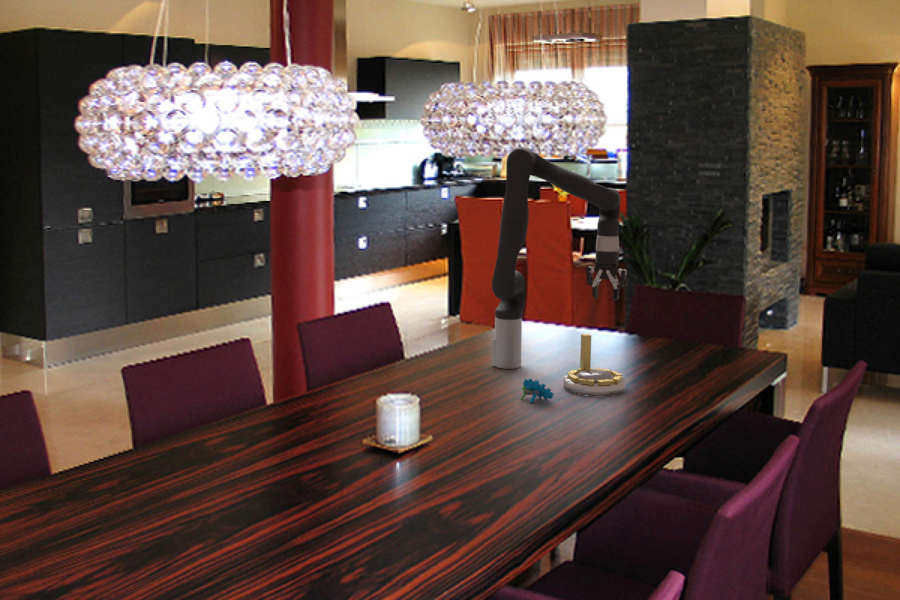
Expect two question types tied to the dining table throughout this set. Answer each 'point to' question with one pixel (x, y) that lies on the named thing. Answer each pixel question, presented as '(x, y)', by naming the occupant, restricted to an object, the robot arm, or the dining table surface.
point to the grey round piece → (594, 389)
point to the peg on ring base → (585, 365)
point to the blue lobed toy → (535, 390)
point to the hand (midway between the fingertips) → (605, 298)
